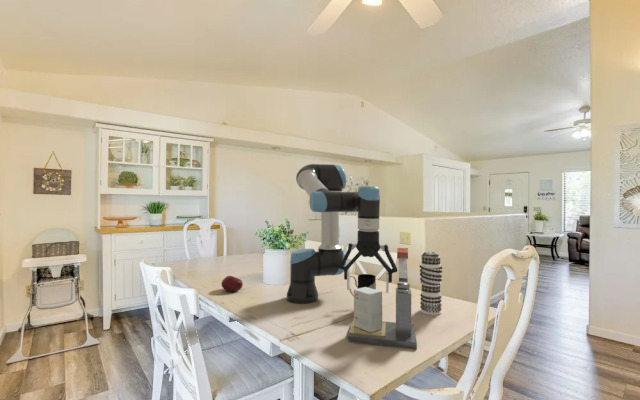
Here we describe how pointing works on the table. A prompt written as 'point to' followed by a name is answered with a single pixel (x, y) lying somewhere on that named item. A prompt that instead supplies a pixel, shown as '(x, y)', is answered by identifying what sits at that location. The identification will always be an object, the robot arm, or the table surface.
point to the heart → (231, 284)
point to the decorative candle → (430, 283)
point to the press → (390, 327)
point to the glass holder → (365, 281)
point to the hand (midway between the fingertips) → (367, 290)
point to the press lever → (402, 268)
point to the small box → (368, 309)
